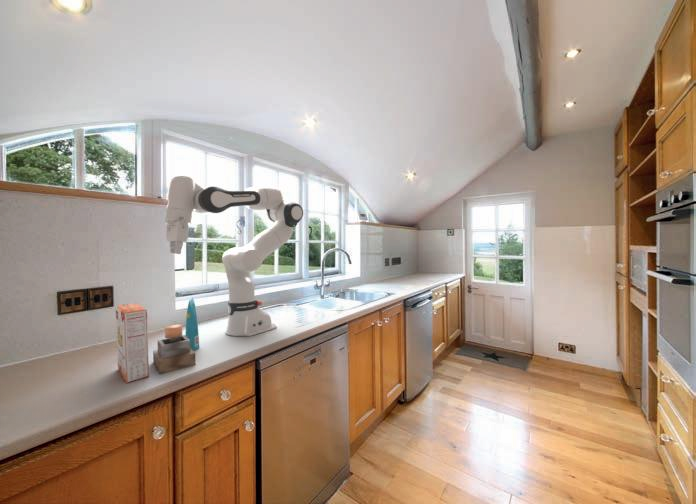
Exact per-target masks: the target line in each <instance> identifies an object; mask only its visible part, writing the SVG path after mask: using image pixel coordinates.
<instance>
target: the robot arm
mask: <svg viewBox="0 0 696 504" xmlns="http://www.w3.org/2000/svg"><path fill="white" fill-rule="evenodd" d="M167 202H168V203H167V205H166V207H165V216H164V221H165V223H166V236H165V237H166V240H167V241H166V242H169V249H170V250H169V253H170V254H175V255H182V254H181V253H182V249H183V246H184V243H187V242H188V238H189V226H190V225H192V223H193V215H194V214H193V213H194V212H196V213H199V214H201V215H208V214H209V215H210V214H220V213H223V212H225V211H226V210H227V209H229V208H233V207H234V208H235V207H246V208H247V209H248V210H253V211H263V210H265V211H266V216H267V217H268V220H270V222H271V221H272V222H273V224H272V225H271V226H270V227H268V228H267V229H264V230H263V231H262V232H260V233H259V234H257V235H255V236H254V237H253V239H252V240H250V242H249V243H247V244H246V245H245V246H241V247H232V248H229V249H227V250H226V251H225V252H224V253H223V254H222V257H221V262H222V264H223V266H224V269H225V273H226V278H227V283H228V284H227V285H228V302H227V314H228V318H227V319H228V321H227V327H226V331H225V334H226V335H227V336H232V337H233V336H234V337H235V336H236V337H237V336H238V337H241V336H242V337H243V336H244V337H245V336H246V337H252V336H254V335H258V334H261V333H264V332H268V331H271V330H275V329H277V325H276V323H274V322H272V317H271V315H270V314H269V313H268V312H266V311H265V310H263V309H262V308H260V307H259V306H262V304H263V301H261V300H256V299H255V283H254V280H253V279H252V276H251V272H254V271H257V270H258V269H260V267H261V265H262V264H263V262H264V261H265V260H266V259H267V258H268V256H270V255H271V254H272V253H274V252H275V251H276V250H279V248H281V247H282V246H283V245H284V244H286V243H287V242H288V241H289V240H290V239H291V237H292V236H293V229H292V228H295V227H297V225H298V223H299V222H301V220H302V219H303V216H304V209H303V207H302V206H301V204H299V203H298V202H293V201H290V202H289V201H285V199H284V195H283V192H282V191H281V190H280V189H279V188H277V187H273V186H266V185H265V186H251V187H247V188H245V189H244V190H227V189H224V188H221V187H218V186H209V187H206V188H205V187H202V186H201V185H200V184H199V183H198V182H197V181H196V180H195V179H194V178H193V177H191V176H185V175H180V176H179V175H178V176H174V177H172V178H171V179H170V182H169V186H168V190H167Z"/></svg>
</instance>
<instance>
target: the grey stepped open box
mask: <svg viewBox="0 0 696 504" xmlns="http://www.w3.org/2000/svg"><path fill="white" fill-rule="evenodd" d="M152 356H153V358H152V361H153V364H154V366H155V369H156V370H157V371H158V373H159V375H162V374H166V373H169V372H174V371H177V370H180V369H184V368H188V367H192V366H195V365H196V352H195V350H192V349H191V348H190V340H189V339H188V338H187V337H186V336H185V334H182V335H181V336H179V337H178V341H177V342H174V343H170V338H165V337H164V338H161V339H157V350H156V349H155V350H153V351H152Z"/></svg>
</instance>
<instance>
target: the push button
mask: <svg viewBox="0 0 696 504" xmlns="http://www.w3.org/2000/svg"><path fill="white" fill-rule="evenodd" d="M181 335H183V325H182V324H173V325H172V324H171V325H168V326H166V327H165V326H164V339H165V338H170V343H174V342H177V341H178V337H179V336H181Z"/></svg>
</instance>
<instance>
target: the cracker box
mask: <svg viewBox="0 0 696 504" xmlns="http://www.w3.org/2000/svg"><path fill="white" fill-rule="evenodd" d="M115 321H116V323H115V324H116V344H117V345H116V348H117V352H116V353H117V369H118V371H119V373H120V374H121V376H122V377H123V379H124V381H125V383H126V384H127V383H133V382H135V381H138V380H141V379H145V378H148V377H149V376H150V371H149V370H150V365H149V361H150V360H149V337H148V335H149V333H148V332H149V331H148V310H147V309H146V308H145V307H143V306H142V305H140V304H139V303H126V304H120V305H119V304H118V305H116V306H115Z"/></svg>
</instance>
